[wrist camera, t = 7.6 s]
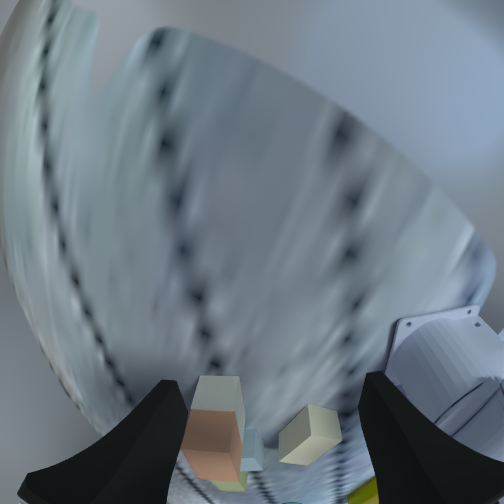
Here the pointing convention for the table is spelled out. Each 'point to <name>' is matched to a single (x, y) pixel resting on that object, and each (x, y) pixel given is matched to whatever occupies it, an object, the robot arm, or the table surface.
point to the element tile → (365, 494)
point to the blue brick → (252, 451)
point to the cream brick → (309, 435)
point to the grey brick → (220, 397)
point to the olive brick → (233, 483)
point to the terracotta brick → (213, 445)
